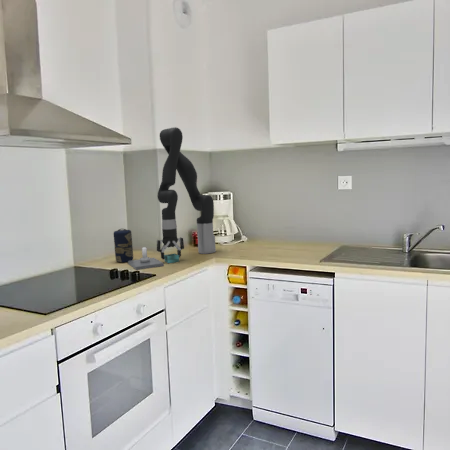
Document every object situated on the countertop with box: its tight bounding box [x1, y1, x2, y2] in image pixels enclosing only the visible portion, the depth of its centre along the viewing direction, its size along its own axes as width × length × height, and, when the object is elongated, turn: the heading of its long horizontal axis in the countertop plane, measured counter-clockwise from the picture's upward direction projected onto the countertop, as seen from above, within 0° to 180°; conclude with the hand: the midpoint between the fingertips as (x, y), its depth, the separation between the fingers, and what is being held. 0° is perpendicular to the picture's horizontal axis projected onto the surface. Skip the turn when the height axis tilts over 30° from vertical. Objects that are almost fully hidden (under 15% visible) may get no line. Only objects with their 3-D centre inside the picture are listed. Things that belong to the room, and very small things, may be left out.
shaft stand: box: [127, 246, 165, 271], centre depth 217 cm, size 14×18×9 cm
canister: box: [113, 228, 134, 263], centre depth 229 cm, size 10×10×18 cm
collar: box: [164, 253, 180, 264], centre depth 223 cm, size 6×6×4 cm
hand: (171, 258), depth 223 cm, fingers open, 8 cm apart
